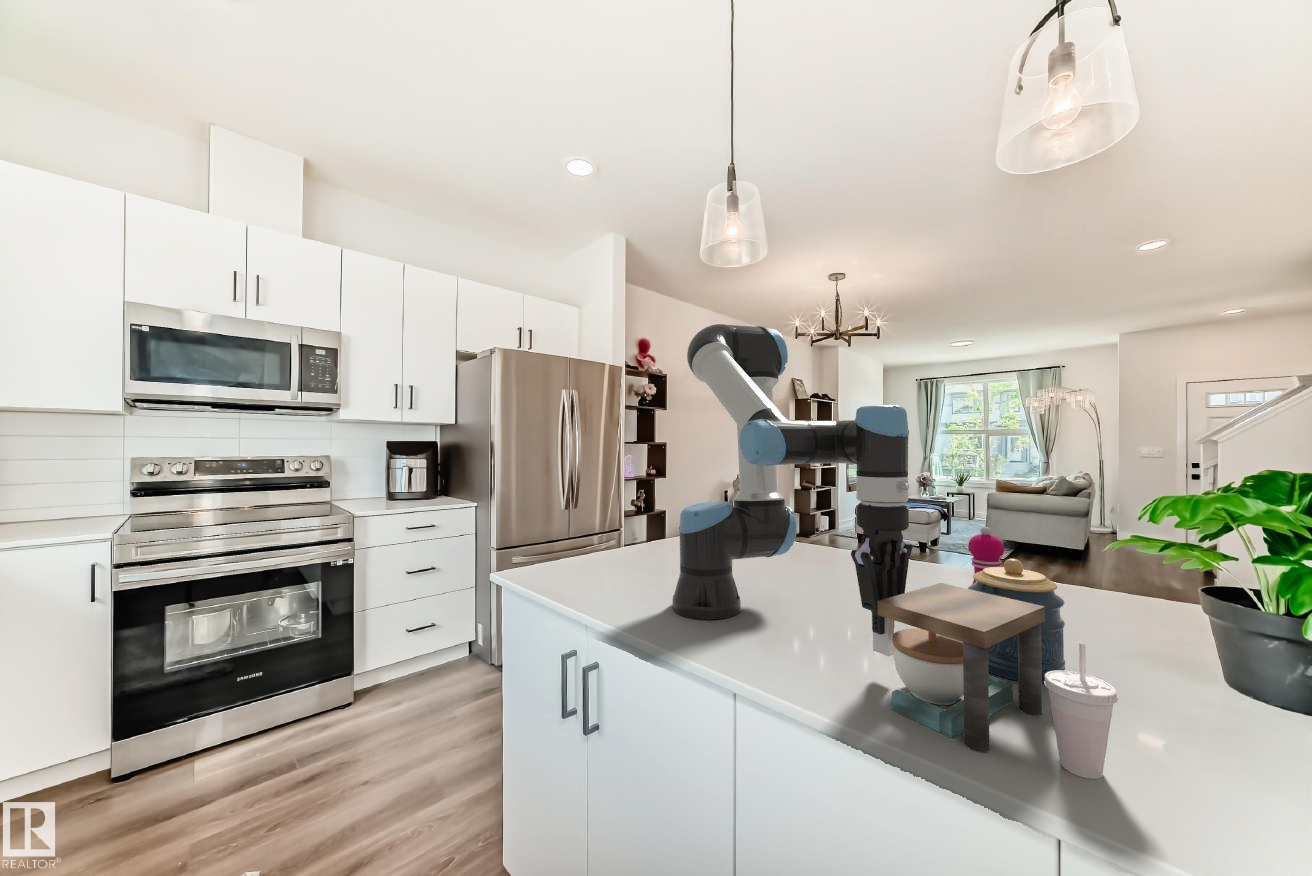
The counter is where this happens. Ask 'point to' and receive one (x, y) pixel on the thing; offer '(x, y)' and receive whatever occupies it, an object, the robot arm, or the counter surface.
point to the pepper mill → (985, 550)
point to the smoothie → (1081, 718)
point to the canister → (1031, 590)
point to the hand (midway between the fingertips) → (883, 652)
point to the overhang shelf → (972, 655)
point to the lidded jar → (929, 665)
